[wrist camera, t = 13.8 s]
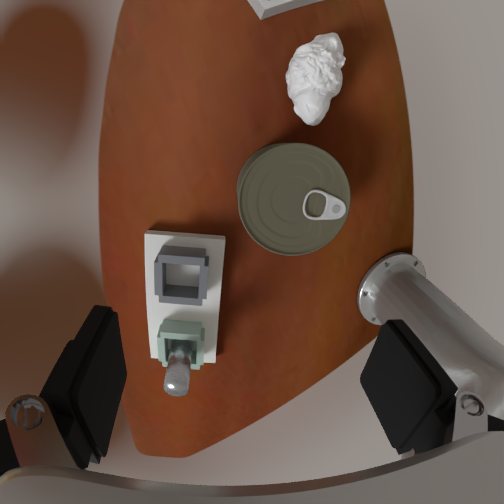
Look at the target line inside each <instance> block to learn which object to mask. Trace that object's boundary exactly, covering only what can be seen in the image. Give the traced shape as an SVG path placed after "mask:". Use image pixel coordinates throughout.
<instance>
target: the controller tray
mask: <svg viewBox="0 0 504 504" xmlns="http://www.w3.org/2000/svg"><path fill="white" fill-rule="evenodd" d="M247 1H248V2H249V3H250V5H251V6H252V8H253V9H254V11H255V12H256V14H257V15H258V17H259V18H260V20H262V19H265V18H268V17H270V16H273V15H276V14H279V13H282V12H285V11H288V10H291V9H295V8H298V7H301V6H305V5H308V4H312V3H316V2H320V1H323V0H269V1H268V0H247Z"/></svg>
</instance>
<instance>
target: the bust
mask: <svg viewBox="0 0 504 504" xmlns="http://www.w3.org/2000/svg"><path fill="white" fill-rule="evenodd" d="M343 51H344V50H343V46H342V43H341V40H340V38H339V36H338V34H336V33H328V34H324V35H318V36H316V37H315V39H314V40H313V41H311V42H310V43H307V44H305V45H302V46H300V47H299V48H298V49H297V50H296V52H295V54H294V55H293V58H292V59H291V61H290V63H289V68H288V71H287V73H286V82H287V84H288V95H289V97H290V98H291V99H292V101H293V103H294V111H295V113H296V114H297V115H298V116H300V118H302V120H303V121H304V122H305V123H306V124H307V125H311V126H315V125H318V124H319V123H320V122H321V121H322V119H323V118H324V117H325V114H326V113H327V111H328V110H329V107H330V100H331V99H332V97H334V96H336V95H337V94H338V93H339V92H340V89H341V86H342V79H343V77H342V72H341V68H342V66H343V65H344V63H345V60H346V58H345V57H344V56H343Z"/></svg>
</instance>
